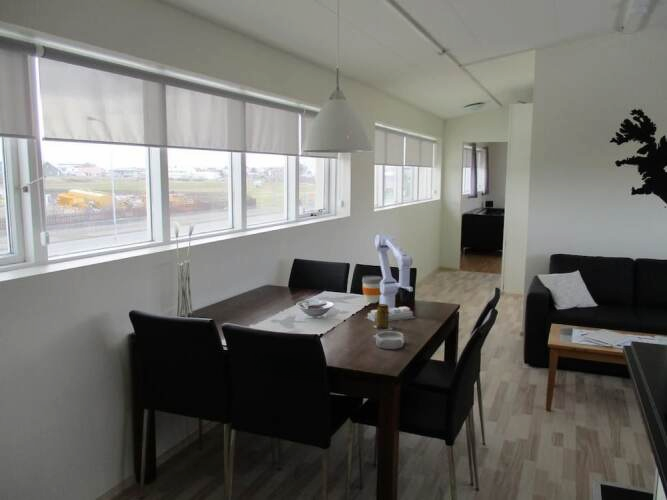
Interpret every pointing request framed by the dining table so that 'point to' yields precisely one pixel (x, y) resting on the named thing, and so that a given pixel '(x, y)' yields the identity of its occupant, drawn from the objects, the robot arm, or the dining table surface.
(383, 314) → the condiment
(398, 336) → the dish
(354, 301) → the dining table surface
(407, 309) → the ivory key
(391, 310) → the bluegrey key
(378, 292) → the reusable coffee cup
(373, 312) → the sage key
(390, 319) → the keypad
